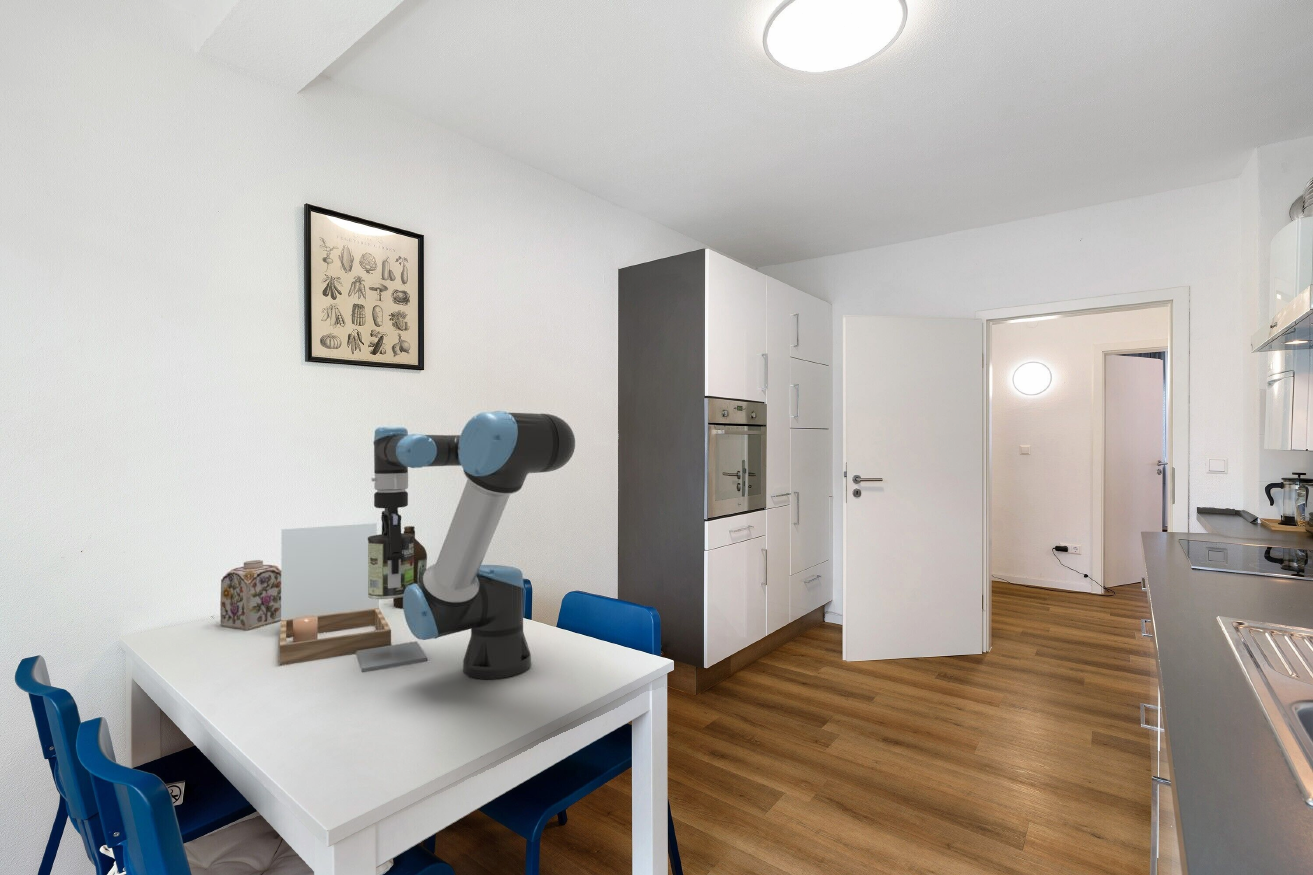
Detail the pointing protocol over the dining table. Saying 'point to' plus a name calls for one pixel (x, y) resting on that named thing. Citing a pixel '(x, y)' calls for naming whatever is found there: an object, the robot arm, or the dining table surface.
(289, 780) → the dining table surface
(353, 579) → the pale grey square panel
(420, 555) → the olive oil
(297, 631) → the pink pillar candle
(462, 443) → the robot arm
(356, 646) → the open wooden box
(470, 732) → the dining table surface
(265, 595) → the decorative jar
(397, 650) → the plate
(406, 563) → the coffee can
